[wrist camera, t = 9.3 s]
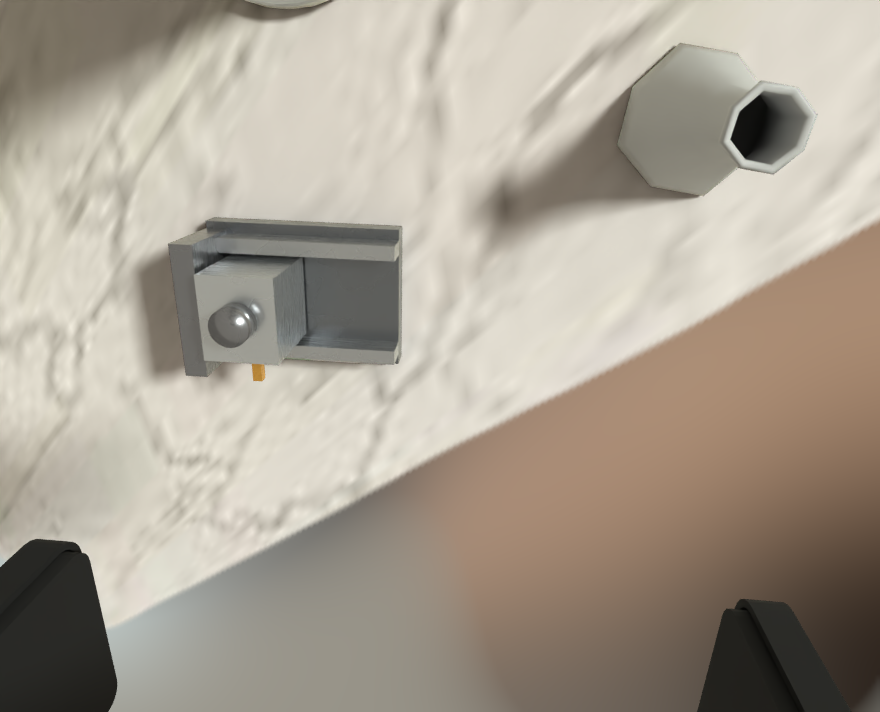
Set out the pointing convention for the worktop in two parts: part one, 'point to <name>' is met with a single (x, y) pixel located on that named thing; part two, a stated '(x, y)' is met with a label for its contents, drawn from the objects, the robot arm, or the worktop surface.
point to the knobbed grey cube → (251, 309)
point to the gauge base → (306, 285)
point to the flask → (710, 121)
